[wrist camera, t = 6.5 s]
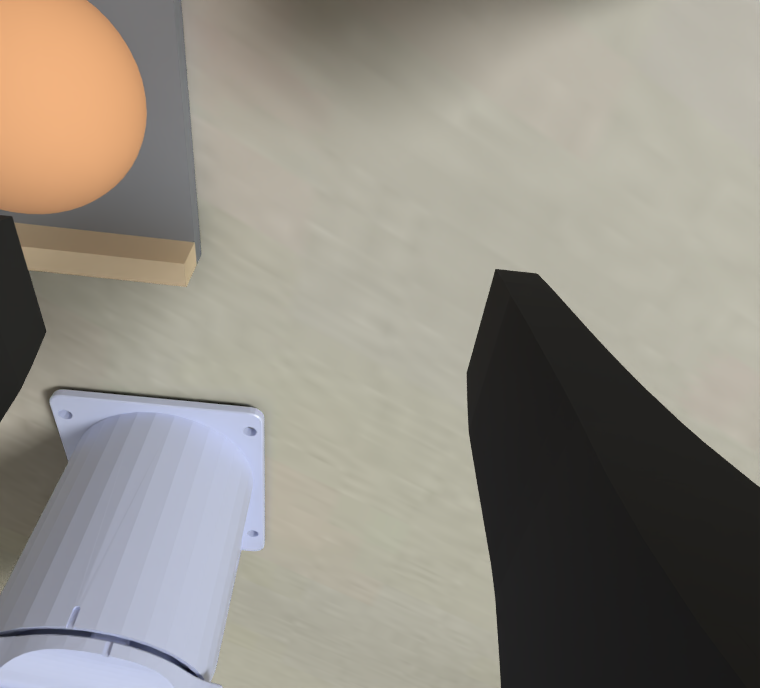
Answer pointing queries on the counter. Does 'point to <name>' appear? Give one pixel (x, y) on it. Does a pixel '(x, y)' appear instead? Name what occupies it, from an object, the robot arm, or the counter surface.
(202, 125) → the counter surface
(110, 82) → the ball
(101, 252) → the lane
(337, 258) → the counter surface
